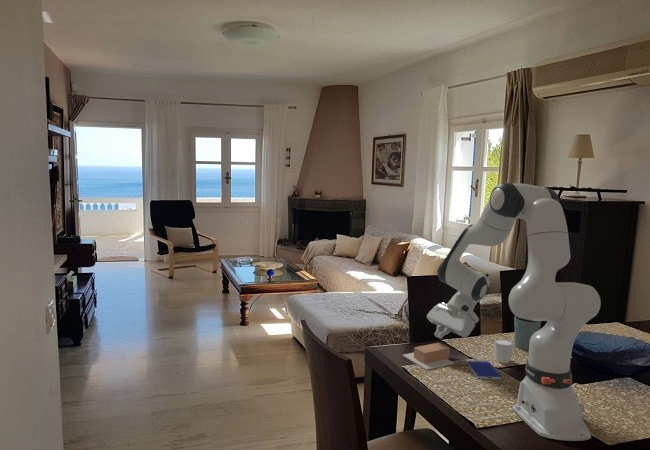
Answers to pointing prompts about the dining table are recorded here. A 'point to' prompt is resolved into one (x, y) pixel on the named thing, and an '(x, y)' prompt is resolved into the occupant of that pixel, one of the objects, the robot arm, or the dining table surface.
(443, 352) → the block
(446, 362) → the mat
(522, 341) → the teal bucket
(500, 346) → the shot glass
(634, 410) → the dining table surface
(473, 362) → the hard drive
